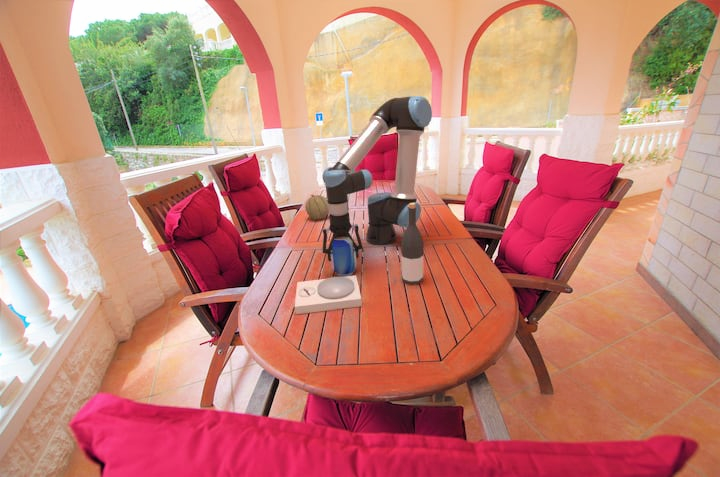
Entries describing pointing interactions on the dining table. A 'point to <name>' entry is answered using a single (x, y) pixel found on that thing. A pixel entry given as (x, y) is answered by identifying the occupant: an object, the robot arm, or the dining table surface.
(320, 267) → the dining table surface
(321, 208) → the cantaloupe
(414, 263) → the wine bottle
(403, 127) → the robot arm
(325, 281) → the scale
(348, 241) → the beer can
